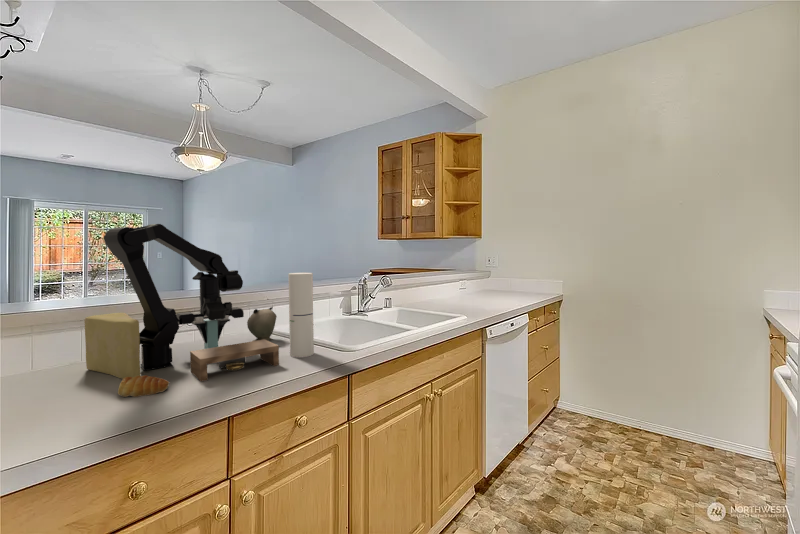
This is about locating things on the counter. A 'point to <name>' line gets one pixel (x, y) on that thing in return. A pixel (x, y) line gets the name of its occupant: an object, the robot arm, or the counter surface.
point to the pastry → (141, 386)
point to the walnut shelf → (232, 355)
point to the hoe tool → (216, 340)
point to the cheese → (113, 344)
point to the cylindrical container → (301, 314)
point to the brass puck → (235, 365)
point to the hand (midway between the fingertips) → (211, 342)
